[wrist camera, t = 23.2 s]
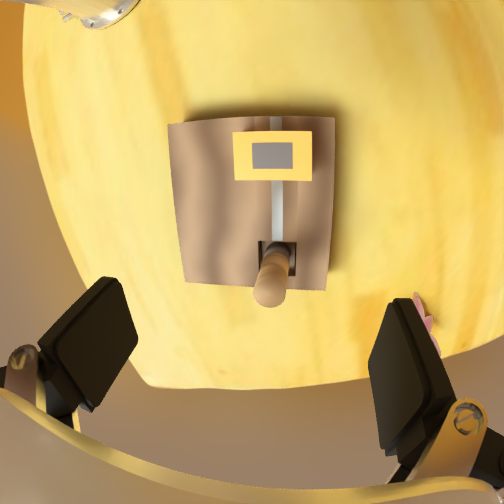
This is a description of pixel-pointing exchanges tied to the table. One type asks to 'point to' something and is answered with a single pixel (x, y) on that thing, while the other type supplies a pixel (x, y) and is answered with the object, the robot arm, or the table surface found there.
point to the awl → (273, 276)
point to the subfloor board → (250, 203)
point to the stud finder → (273, 155)
